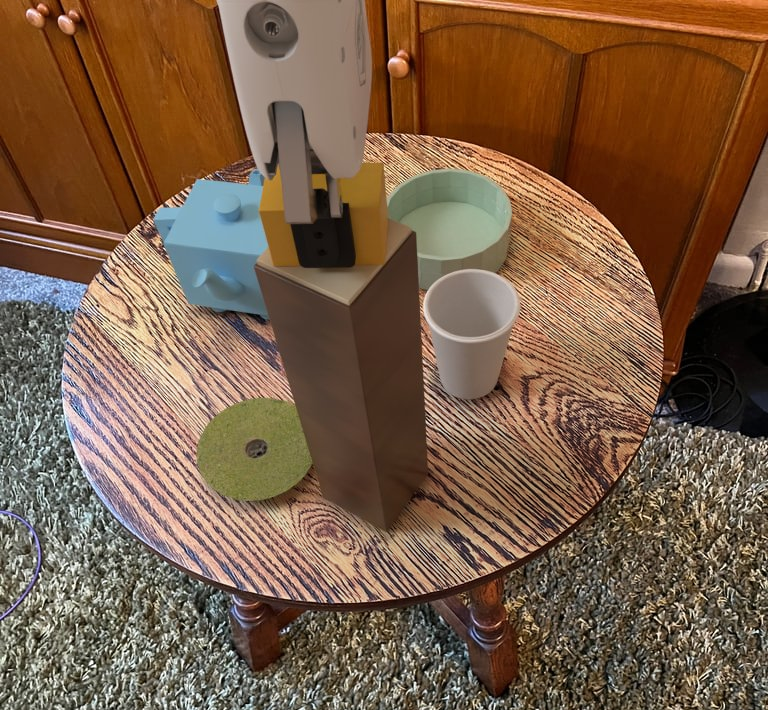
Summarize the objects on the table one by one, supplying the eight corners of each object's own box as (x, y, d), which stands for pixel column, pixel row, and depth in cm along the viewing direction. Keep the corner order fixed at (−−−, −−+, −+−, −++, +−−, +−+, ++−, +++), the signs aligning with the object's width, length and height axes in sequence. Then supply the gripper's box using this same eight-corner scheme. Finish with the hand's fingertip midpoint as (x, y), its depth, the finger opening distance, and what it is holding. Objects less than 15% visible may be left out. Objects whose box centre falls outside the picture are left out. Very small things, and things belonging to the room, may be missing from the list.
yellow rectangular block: (388, 220, 46) (383, 161, 42) (385, 265, 44) (379, 207, 40) (280, 222, 46) (266, 165, 43) (273, 266, 44) (258, 210, 41)
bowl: (531, 228, 84) (535, 193, 80) (468, 309, 79) (469, 277, 75) (426, 188, 88) (425, 154, 84) (361, 263, 83) (356, 231, 79)
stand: (428, 474, 70) (416, 226, 45) (386, 533, 68) (349, 304, 43) (365, 441, 72) (320, 188, 47) (322, 497, 70) (251, 260, 45)
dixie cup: (530, 382, 74) (540, 309, 65) (460, 425, 72) (461, 356, 64) (477, 329, 78) (480, 253, 69) (409, 369, 76) (404, 296, 67)
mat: (251, 391, 76) (246, 379, 74) (343, 439, 73) (341, 428, 71) (178, 475, 72) (171, 464, 70) (272, 531, 69) (267, 521, 67)
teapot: (342, 241, 85) (327, 151, 75) (293, 368, 77) (270, 287, 67) (209, 224, 88) (178, 136, 78) (150, 346, 80) (107, 264, 70)
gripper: (349, -33, 24) (388, 348, 40) (380, -253, 32) (402, 141, 48) (120, -22, 25) (248, 349, 41) (204, -240, 33) (284, 144, 49)
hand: (331, 234), depth 44 cm, fingers closed on yellow rectangular block, 3 cm apart
